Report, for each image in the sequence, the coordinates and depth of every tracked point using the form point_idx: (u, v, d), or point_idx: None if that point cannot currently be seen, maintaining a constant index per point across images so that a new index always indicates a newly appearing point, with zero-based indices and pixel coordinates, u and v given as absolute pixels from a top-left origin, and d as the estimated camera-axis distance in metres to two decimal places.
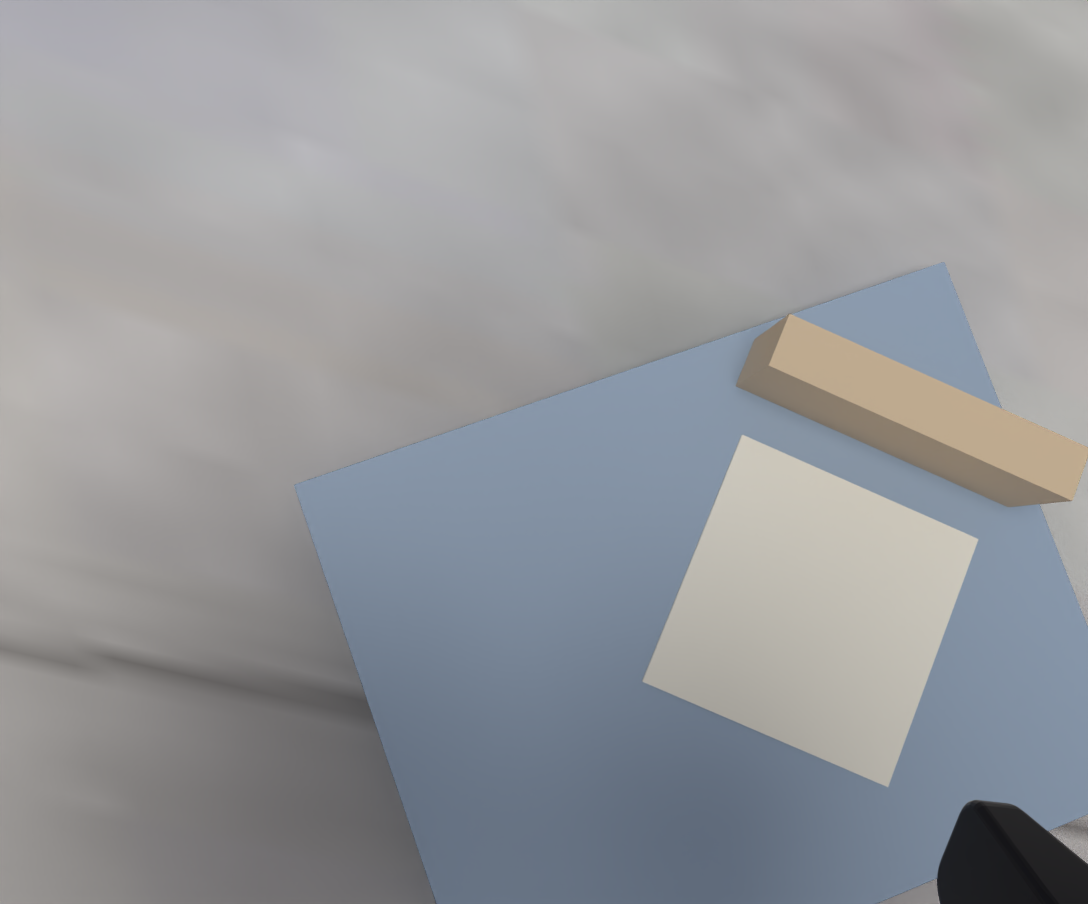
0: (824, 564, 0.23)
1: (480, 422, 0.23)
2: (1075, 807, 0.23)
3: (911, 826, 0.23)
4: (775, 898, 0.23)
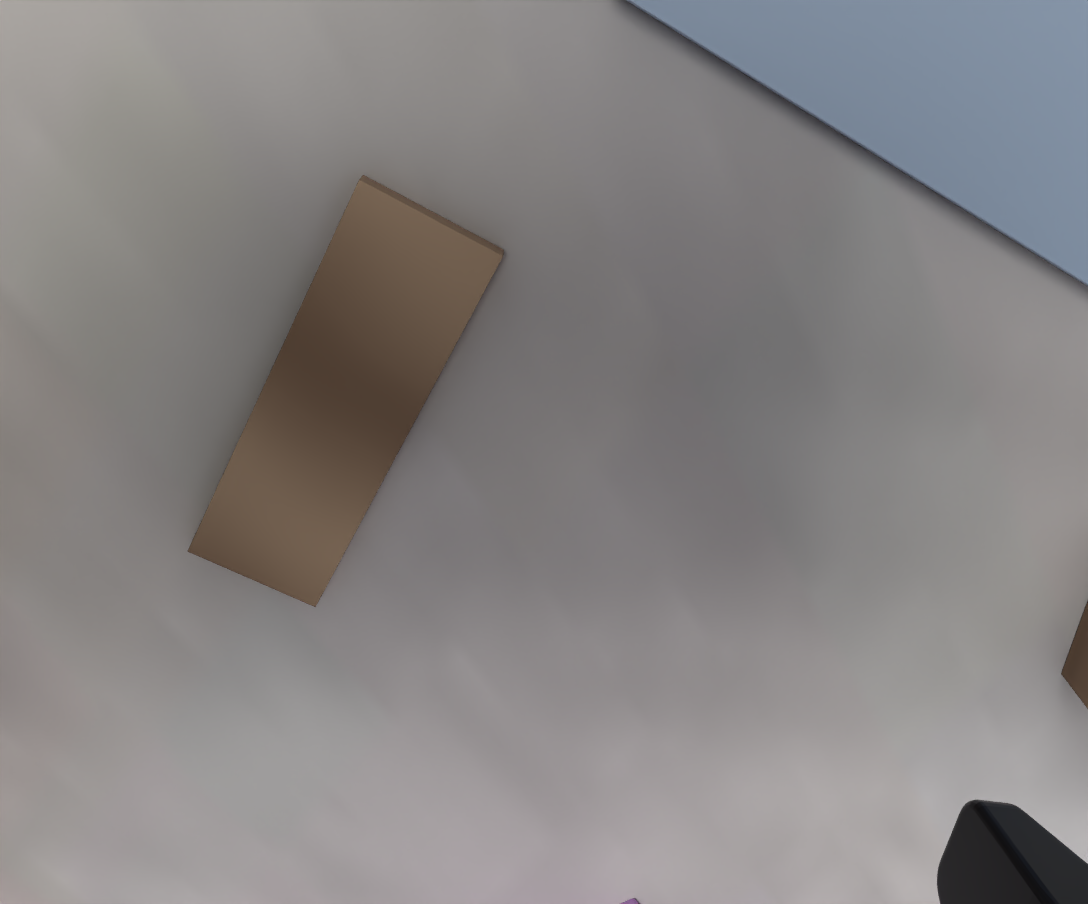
0: None
1: None
2: None
3: None
4: (983, 151, 0.18)
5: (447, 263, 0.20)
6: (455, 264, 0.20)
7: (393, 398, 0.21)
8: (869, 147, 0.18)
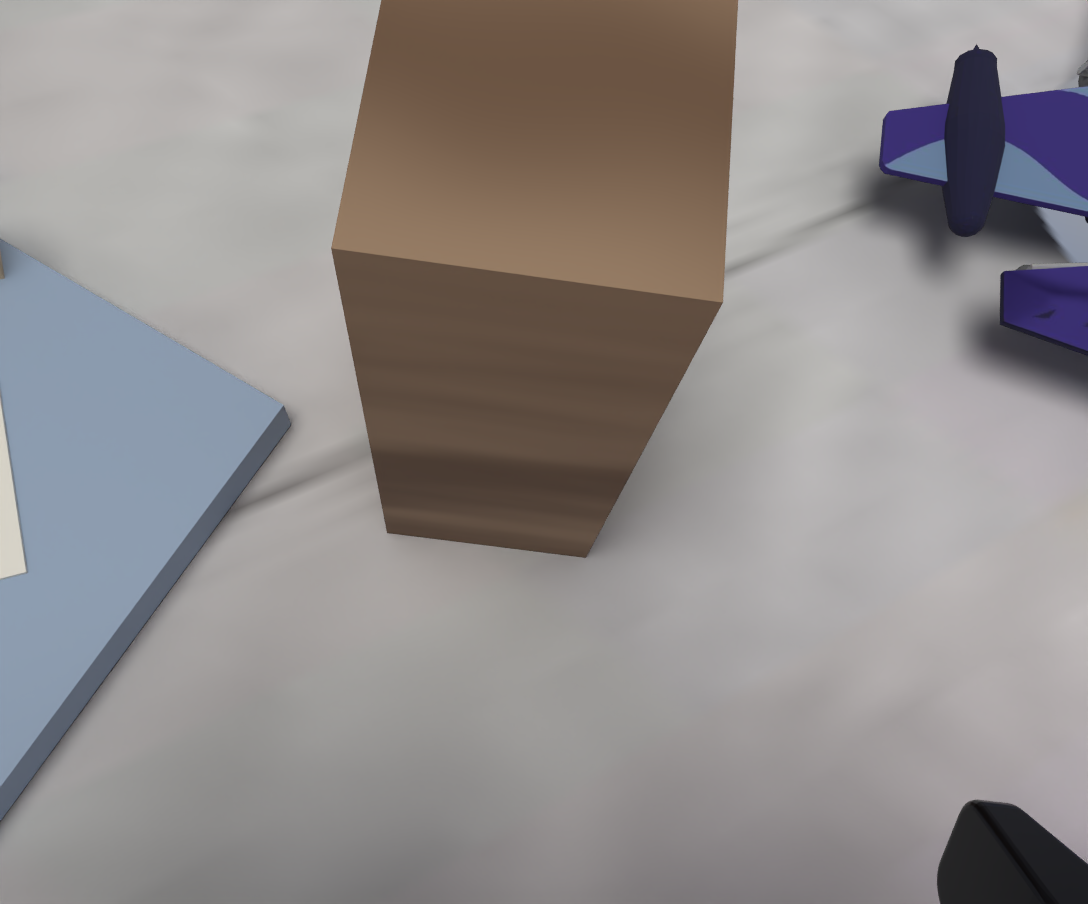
0: None
1: None
2: (223, 466, 0.23)
3: (74, 589, 0.21)
4: None
5: None
6: None
7: None
8: None
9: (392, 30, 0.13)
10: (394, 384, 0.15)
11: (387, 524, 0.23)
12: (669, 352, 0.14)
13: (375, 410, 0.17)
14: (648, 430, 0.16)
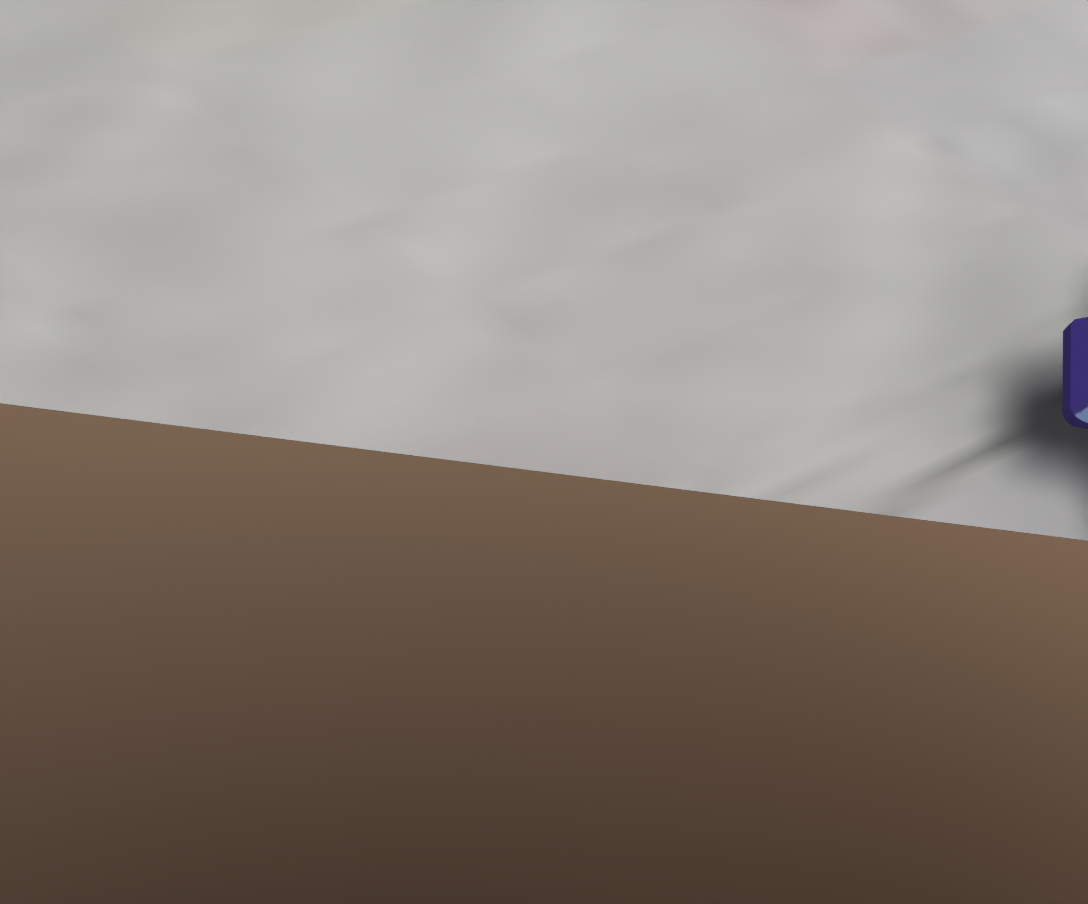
0: None
1: None
2: None
3: None
4: None
5: None
6: None
7: None
8: None
9: None
10: None
11: None
12: None
13: None
14: None
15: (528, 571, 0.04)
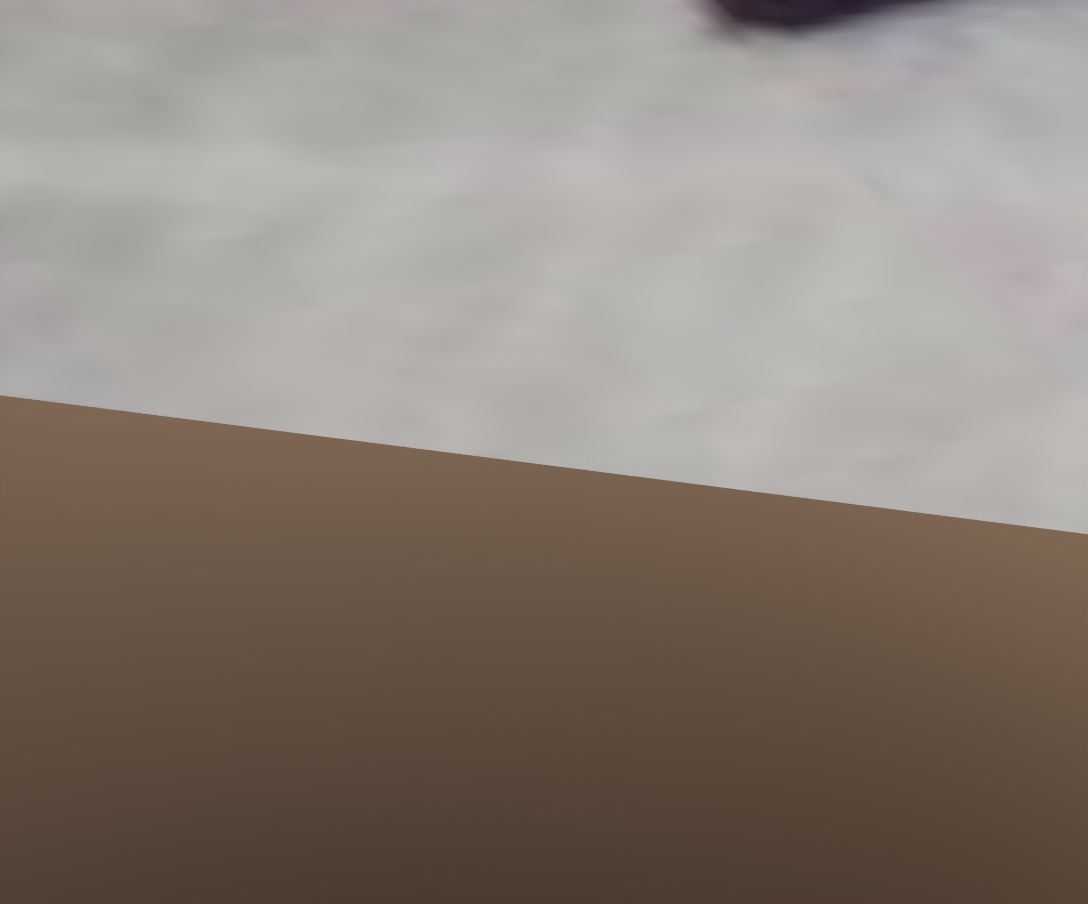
0: None
1: None
2: None
3: None
4: None
5: None
6: None
7: None
8: None
9: None
10: None
11: None
12: None
13: None
14: None
15: (540, 564, 0.04)
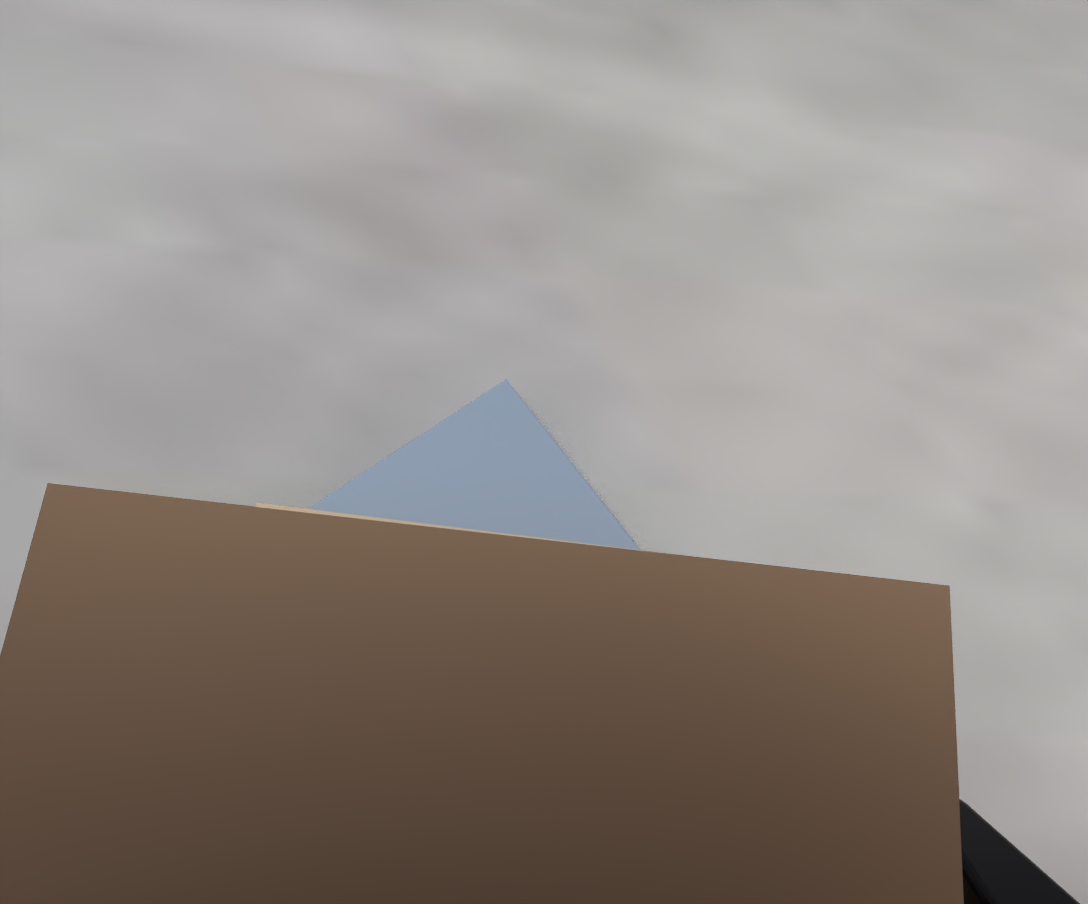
0: None
1: None
2: None
3: None
4: None
5: None
6: None
7: None
8: None
9: (16, 778, 0.05)
10: None
11: None
12: None
13: None
14: None
15: (514, 612, 0.05)
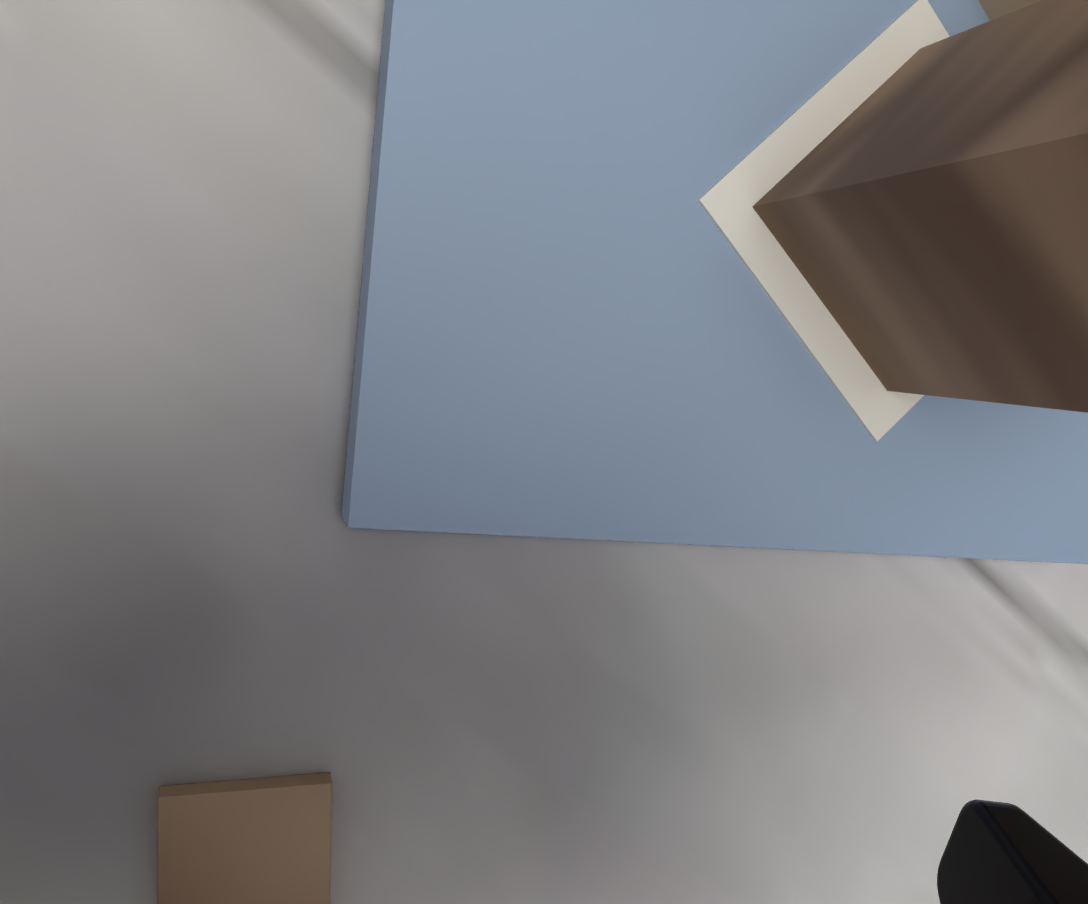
0: None
1: None
2: (1023, 549, 0.22)
3: (877, 492, 0.21)
4: (719, 497, 0.20)
5: (282, 820, 0.19)
6: (290, 816, 0.19)
7: None
8: (625, 540, 0.19)
9: None
10: None
11: (772, 204, 0.18)
12: None
13: (1077, 151, 0.12)
14: None
15: None
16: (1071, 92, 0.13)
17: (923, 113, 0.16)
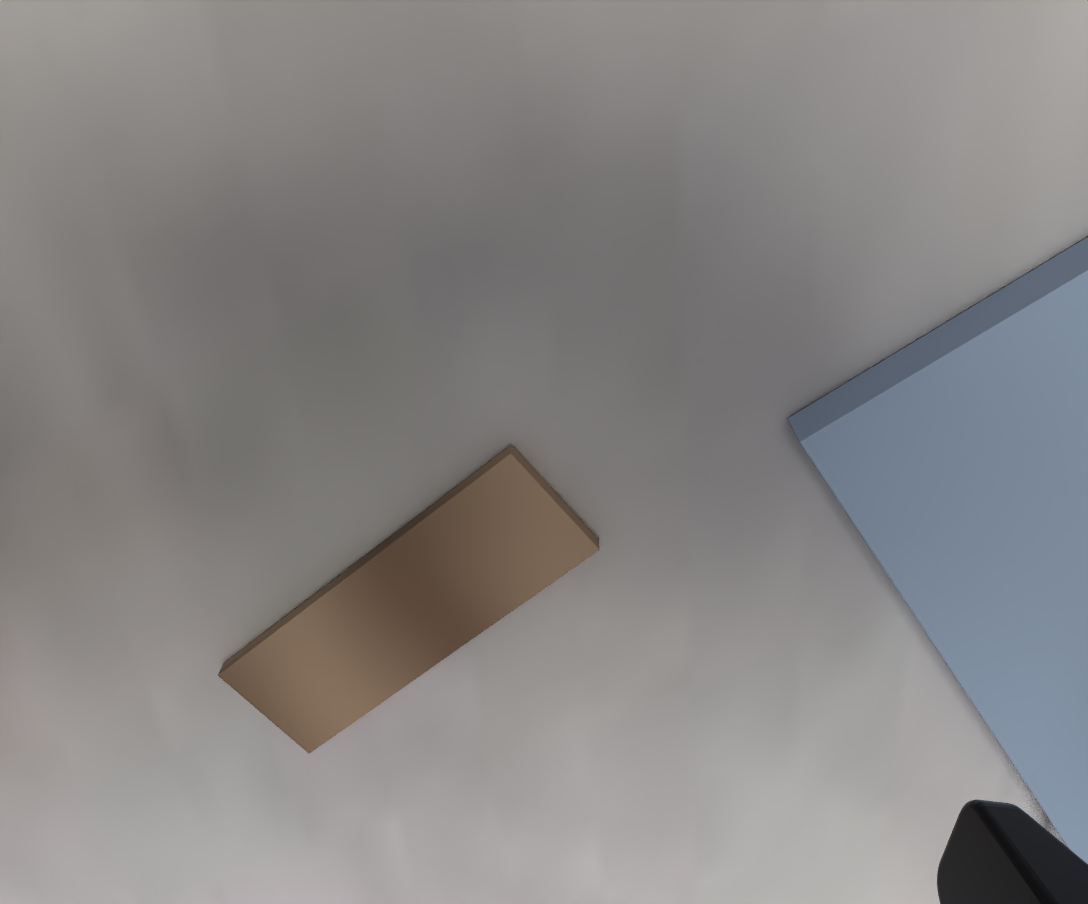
0: None
1: None
2: None
3: (1068, 747, 0.24)
4: (992, 653, 0.23)
5: (551, 538, 0.23)
6: (558, 541, 0.23)
7: (457, 620, 0.23)
8: (916, 616, 0.22)
9: None
10: None
11: None
12: None
13: None
14: None
15: None
16: None
17: None
